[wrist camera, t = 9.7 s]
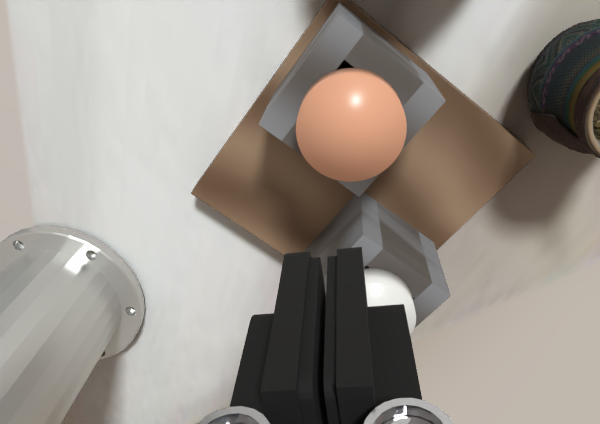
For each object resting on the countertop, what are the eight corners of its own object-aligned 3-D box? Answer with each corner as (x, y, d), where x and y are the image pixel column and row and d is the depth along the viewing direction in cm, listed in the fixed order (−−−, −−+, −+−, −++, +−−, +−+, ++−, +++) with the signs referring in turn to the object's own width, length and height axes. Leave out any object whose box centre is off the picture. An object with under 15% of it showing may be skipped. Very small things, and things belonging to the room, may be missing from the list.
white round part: (371, 303, 35) (377, 366, 30) (315, 266, 34) (311, 324, 29) (420, 257, 33) (434, 315, 28) (362, 216, 32) (366, 268, 27)
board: (369, 296, 39) (375, 372, 32) (198, 181, 36) (162, 238, 29) (525, 144, 33) (575, 198, 26) (335, -13, 30) (333, 0, 23)
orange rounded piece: (355, 155, 29) (358, 201, 24) (286, 104, 28) (274, 140, 23) (413, 88, 27) (430, 121, 22) (341, 30, 26) (341, 51, 21)
